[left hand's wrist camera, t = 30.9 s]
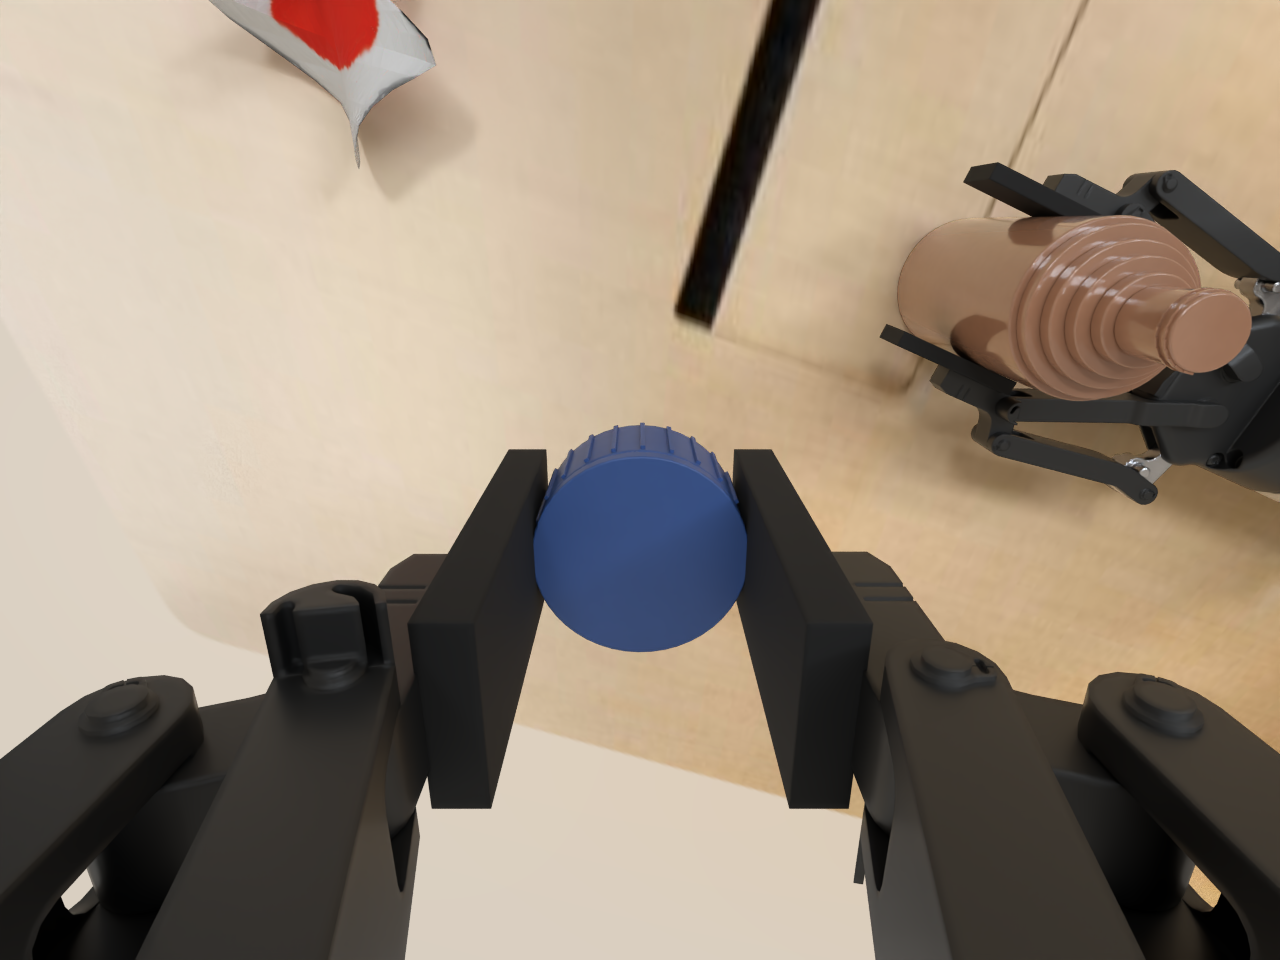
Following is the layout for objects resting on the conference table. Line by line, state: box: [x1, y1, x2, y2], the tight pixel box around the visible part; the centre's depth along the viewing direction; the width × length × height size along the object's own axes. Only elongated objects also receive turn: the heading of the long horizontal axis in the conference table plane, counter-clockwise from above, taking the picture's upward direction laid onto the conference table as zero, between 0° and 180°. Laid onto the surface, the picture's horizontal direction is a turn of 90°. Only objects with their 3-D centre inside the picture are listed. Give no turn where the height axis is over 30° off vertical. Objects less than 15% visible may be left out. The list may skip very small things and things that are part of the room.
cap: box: [533, 423, 747, 652], centre depth 13 cm, size 4×4×2 cm
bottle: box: [898, 215, 1252, 401], centre depth 32 cm, size 8×8×19 cm
